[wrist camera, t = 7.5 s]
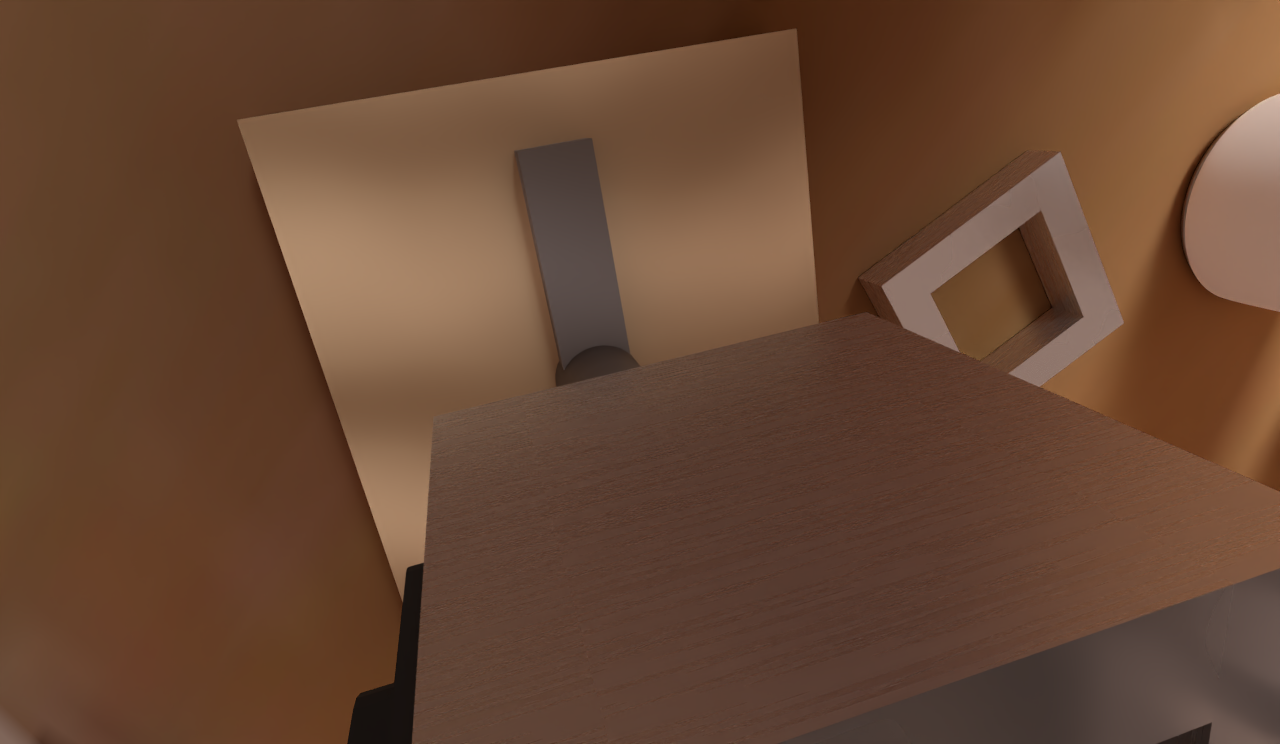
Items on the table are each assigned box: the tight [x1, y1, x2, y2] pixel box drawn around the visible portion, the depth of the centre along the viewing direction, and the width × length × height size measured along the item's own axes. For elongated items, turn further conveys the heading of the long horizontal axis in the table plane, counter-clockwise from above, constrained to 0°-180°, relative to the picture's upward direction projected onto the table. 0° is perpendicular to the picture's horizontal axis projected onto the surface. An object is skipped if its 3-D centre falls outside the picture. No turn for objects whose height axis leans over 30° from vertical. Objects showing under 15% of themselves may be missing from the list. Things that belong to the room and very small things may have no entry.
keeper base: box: [237, 28, 819, 602], centre depth 15 cm, size 14×12×8 cm
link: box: [412, 312, 1280, 744], centre depth 8 cm, size 6×6×6 cm
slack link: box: [858, 150, 1124, 387], centre depth 21 cm, size 6×6×1 cm
